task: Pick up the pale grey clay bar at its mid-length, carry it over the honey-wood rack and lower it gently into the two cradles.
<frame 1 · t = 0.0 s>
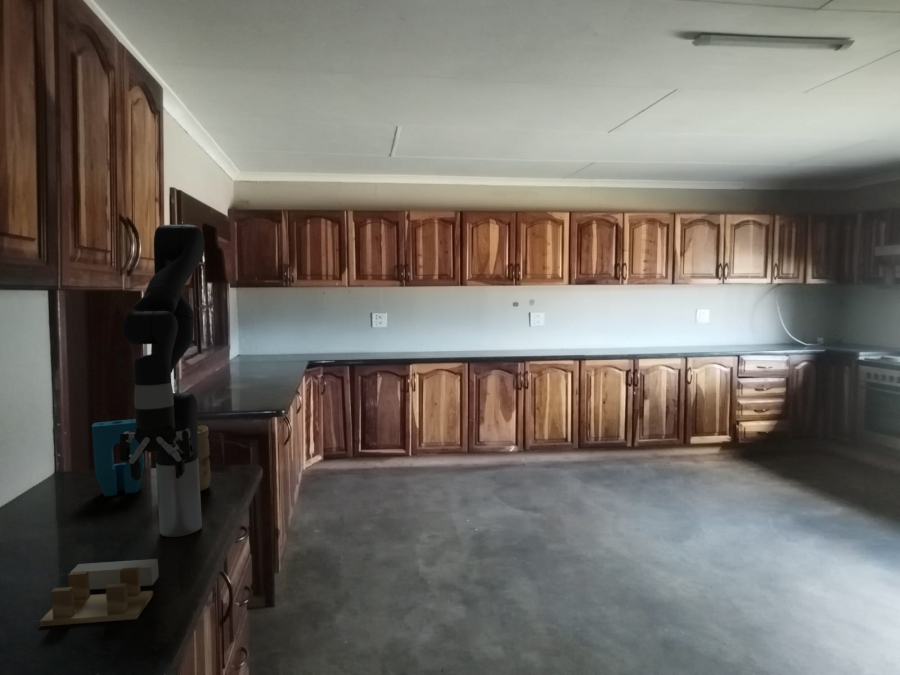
hand: (158, 478, 131), 17 cm above the countertop, tool pointing down, fingers open, 8 cm apart
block: (121, 492, 172), on the countertop
container: (187, 493, 171), on the countertop
rack: (99, 610, 111), on the countertop
clay bar: (116, 584, 121), on the countertop
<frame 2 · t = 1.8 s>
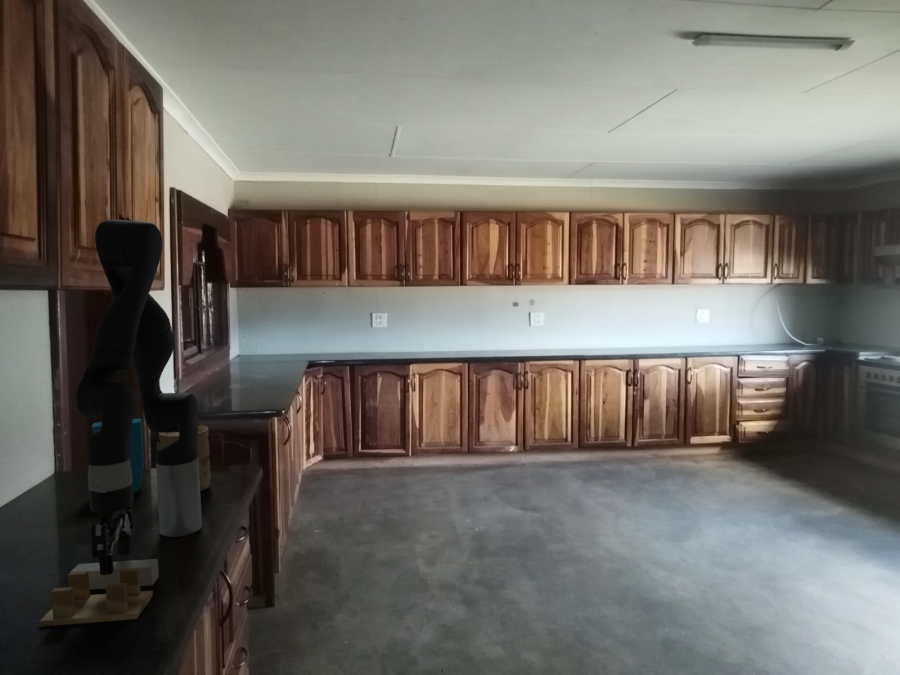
hand: (115, 564, 120), 4 cm above the countertop, tool pointing down, fingers open, 8 cm apart
nothing on the countertop moved.
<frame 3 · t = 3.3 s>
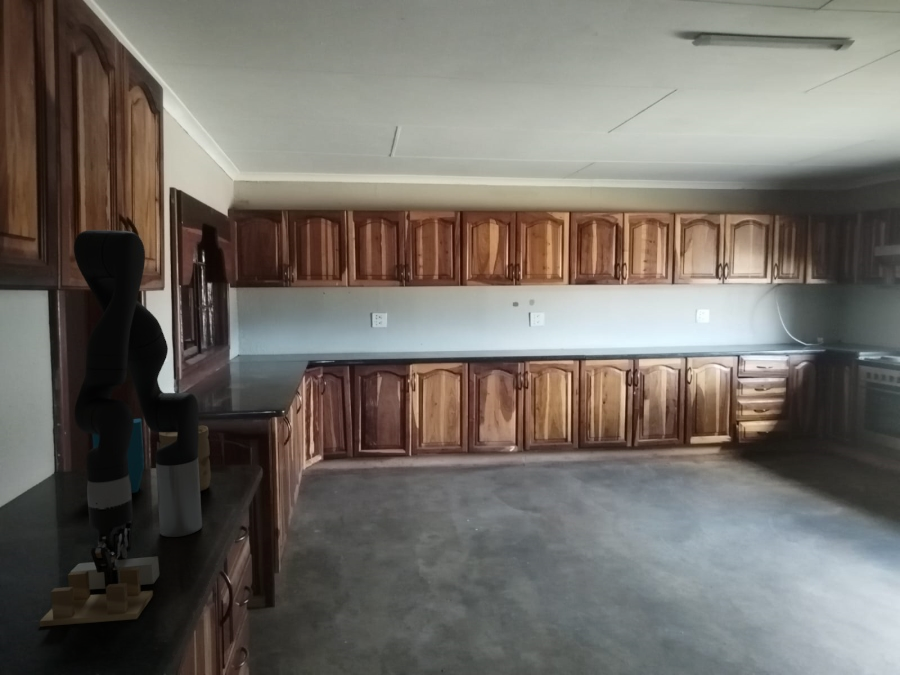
hand: (116, 582, 121), 0 cm above the countertop, tool pointing down, fingers closed on clay bar, 3 cm apart
clay bar: (116, 583, 121), on the countertop, touching gripper
everything else where it was.
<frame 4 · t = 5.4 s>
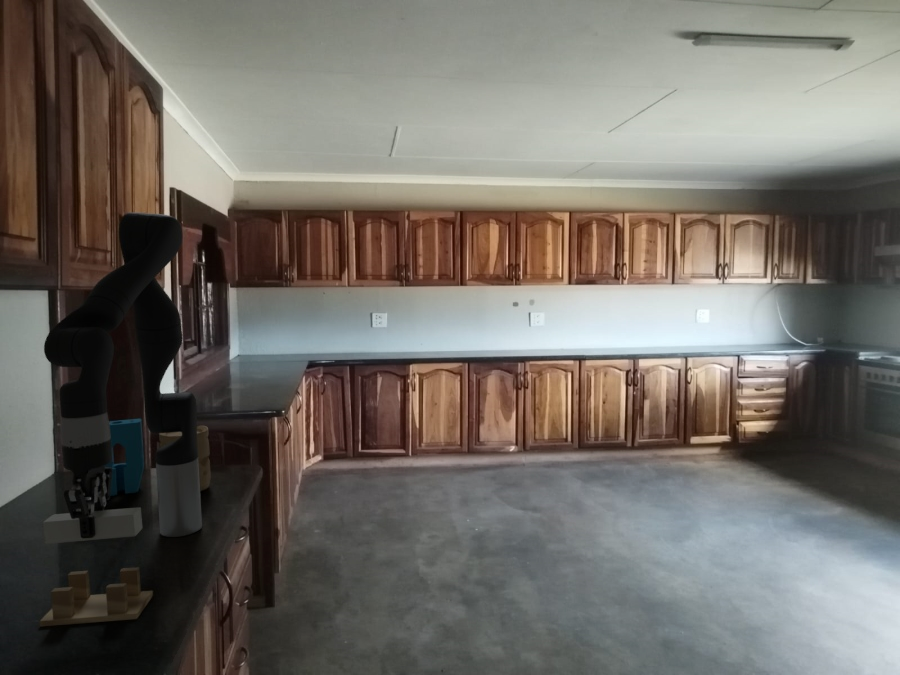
hand: (93, 532, 109), 15 cm above the countertop, tool pointing down, fingers closed on clay bar, 3 cm apart
clay bar: (95, 535, 110), point 14 cm above the countertop, touching gripper
everything else where it was.
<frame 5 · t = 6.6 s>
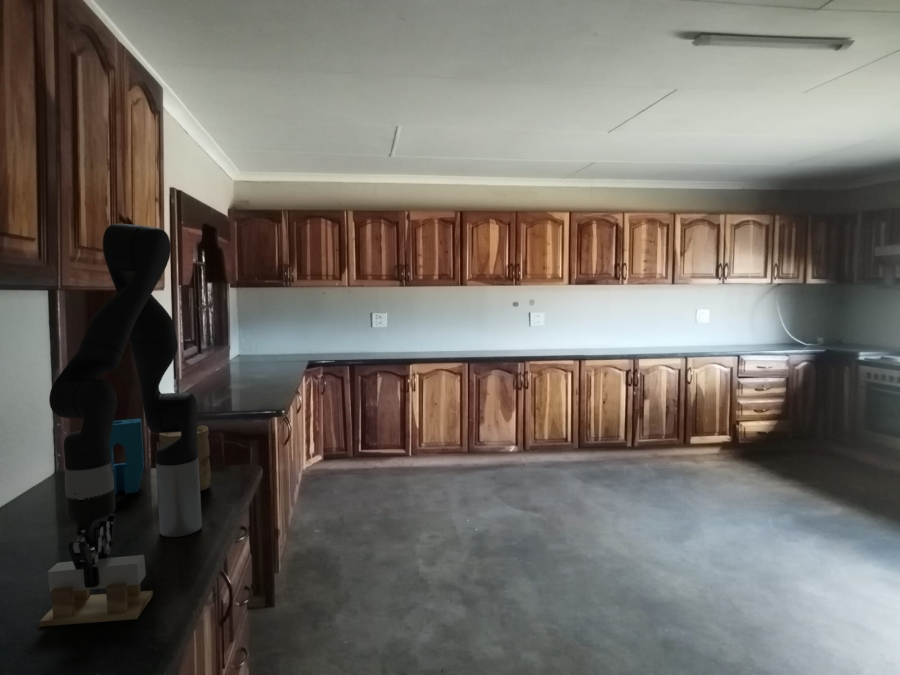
hand: (97, 580, 110), 6 cm above the countertop, tool pointing down, fingers closed on clay bar, 3 cm apart
clay bar: (99, 584, 110), point 5 cm above the countertop, touching gripper
everything else where it was.
when the fingers open (2 cm above the countertop, at t = 7.6 s): clay bar stays where it is, resting on rack.
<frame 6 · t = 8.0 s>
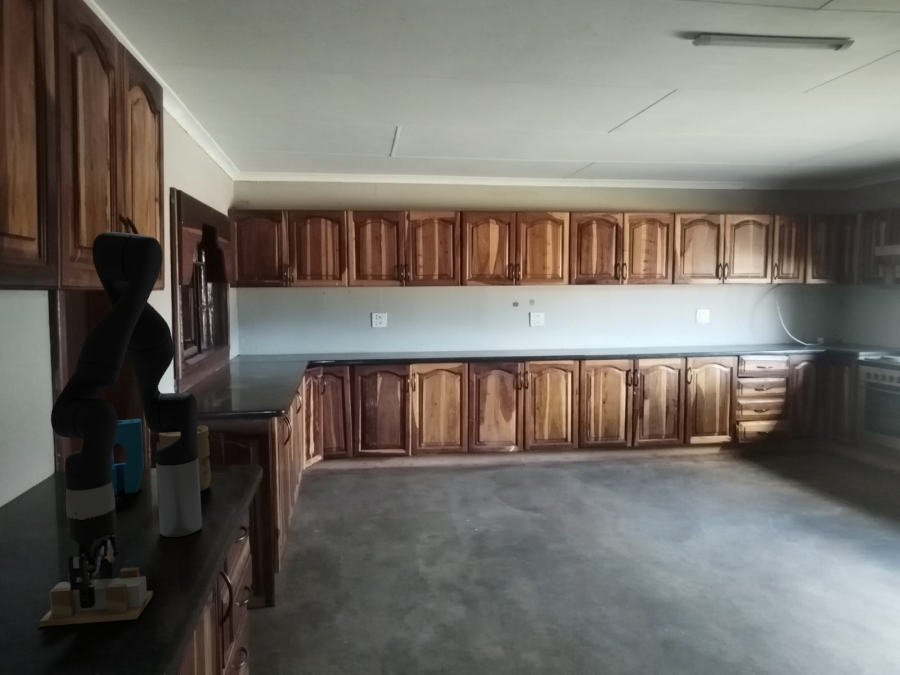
hand: (97, 595, 111), 3 cm above the countertop, tool pointing down, fingers open, 7 cm apart
clay bar: (100, 604, 111), point 1 cm above the countertop, touching rack
everything else where it was.
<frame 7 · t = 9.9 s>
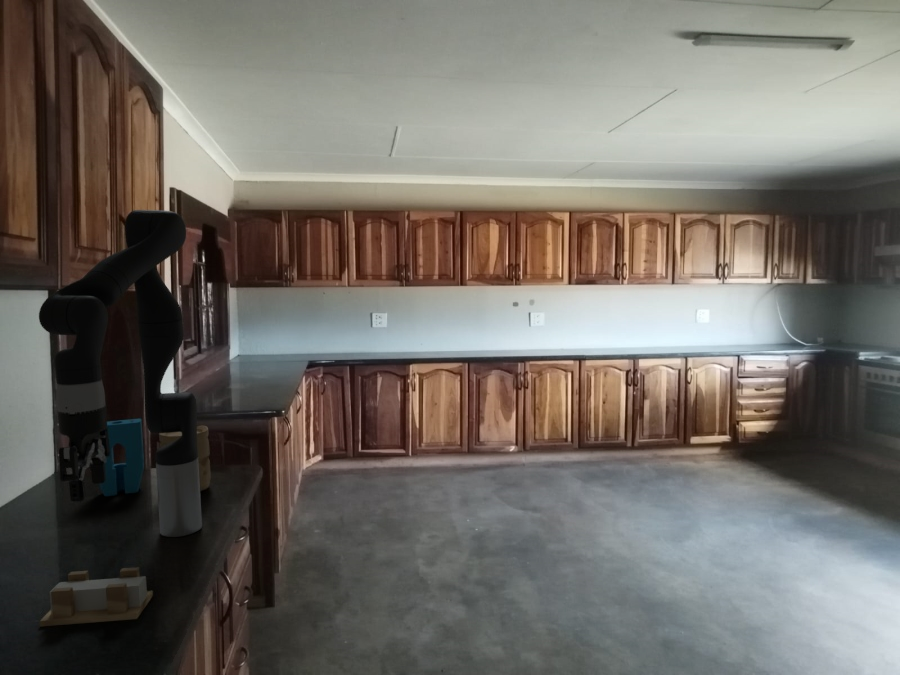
hand: (89, 491, 112), 21 cm above the countertop, tool pointing down, fingers open, 8 cm apart
nothing on the countertop moved.
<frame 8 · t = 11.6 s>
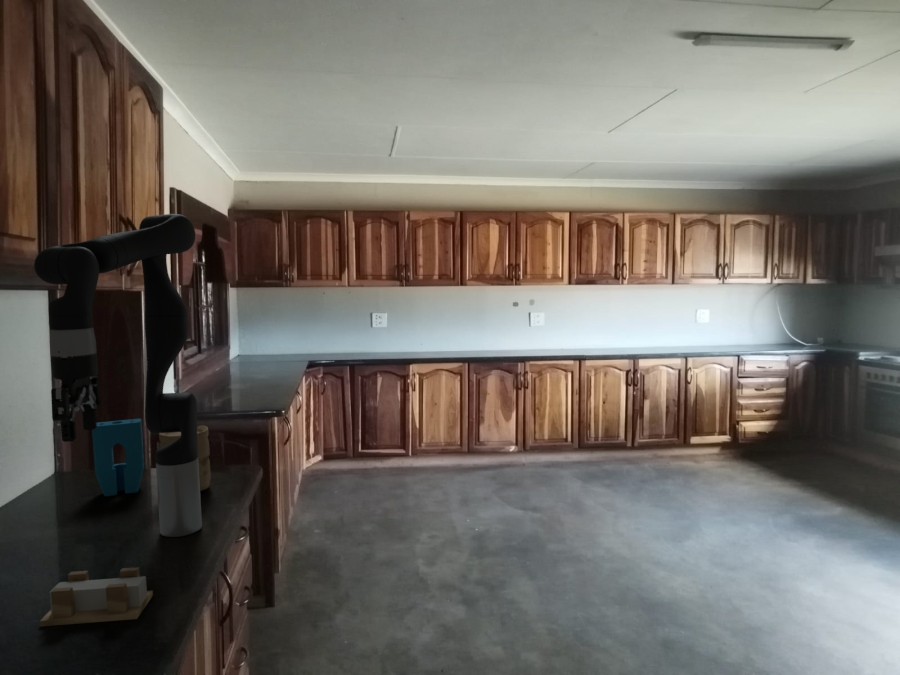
hand: (80, 435, 118), 30 cm above the countertop, tool pointing down, fingers open, 8 cm apart
nothing on the countertop moved.
at the end: clay bar 0.3 cm off-centre on the rack, point 1.0 cm above the rack's base; clay bar tilted 0°; the gripper is holding nothing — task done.
